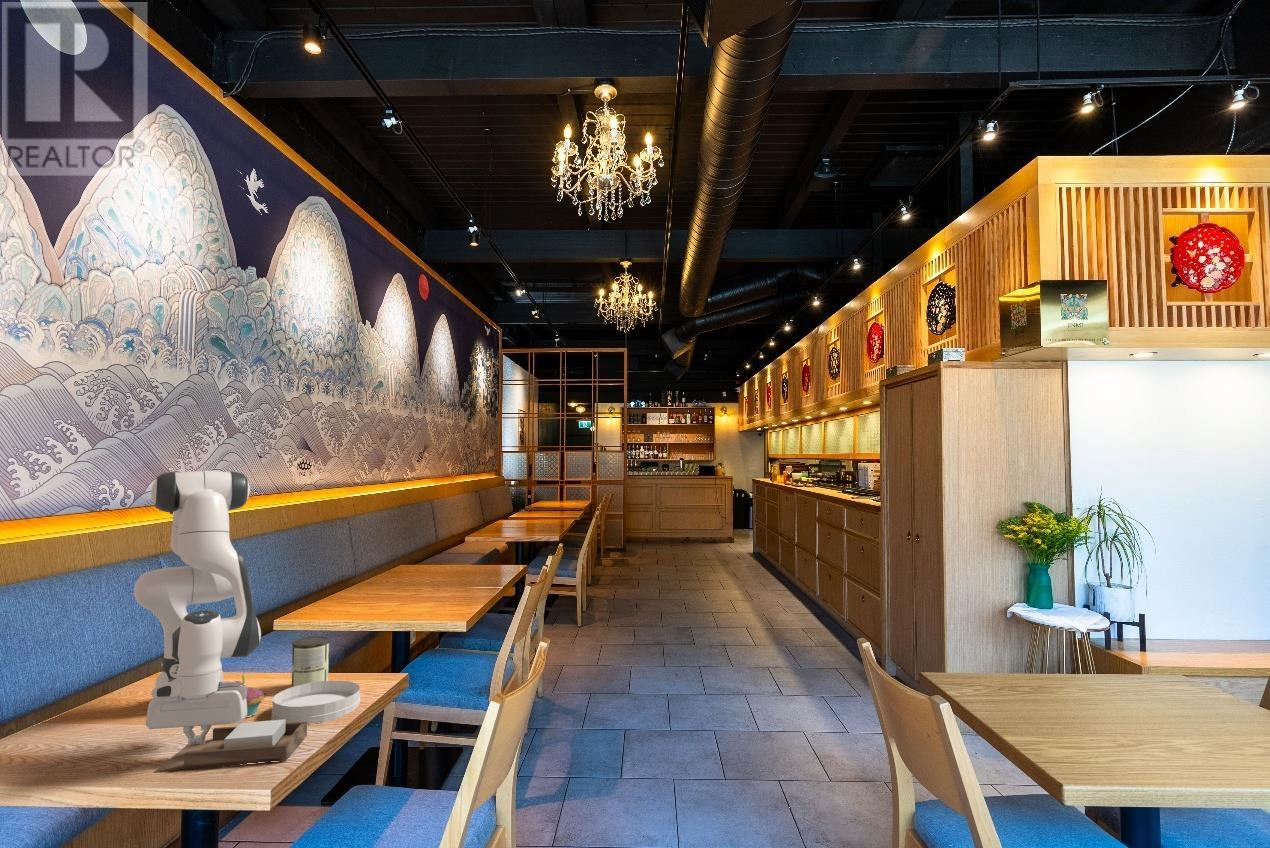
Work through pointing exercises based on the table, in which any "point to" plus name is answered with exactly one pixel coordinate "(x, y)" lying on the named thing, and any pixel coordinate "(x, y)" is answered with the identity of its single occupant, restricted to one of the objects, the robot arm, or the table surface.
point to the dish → (316, 701)
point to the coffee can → (310, 660)
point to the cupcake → (252, 698)
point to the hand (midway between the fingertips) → (196, 744)
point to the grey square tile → (256, 734)
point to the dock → (235, 750)
